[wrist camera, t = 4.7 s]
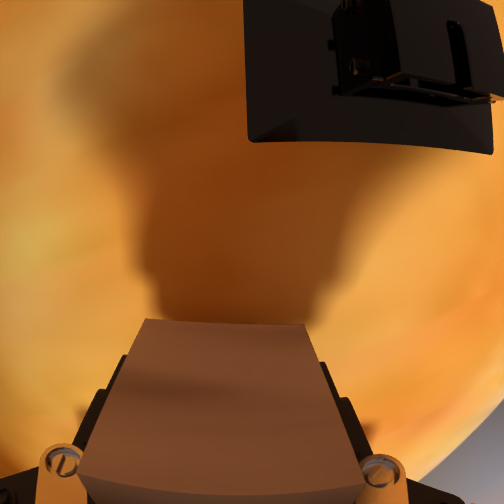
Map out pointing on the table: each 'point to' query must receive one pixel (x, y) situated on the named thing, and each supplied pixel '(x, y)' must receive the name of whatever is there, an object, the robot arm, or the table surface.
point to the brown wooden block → (220, 421)
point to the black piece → (373, 72)
